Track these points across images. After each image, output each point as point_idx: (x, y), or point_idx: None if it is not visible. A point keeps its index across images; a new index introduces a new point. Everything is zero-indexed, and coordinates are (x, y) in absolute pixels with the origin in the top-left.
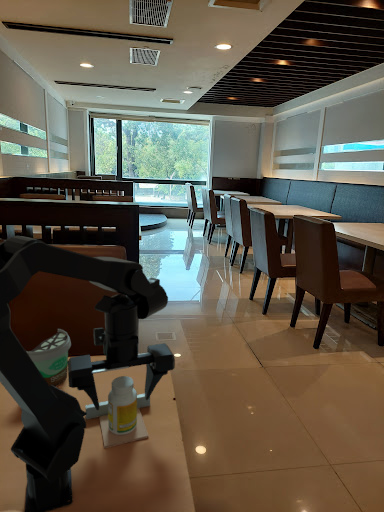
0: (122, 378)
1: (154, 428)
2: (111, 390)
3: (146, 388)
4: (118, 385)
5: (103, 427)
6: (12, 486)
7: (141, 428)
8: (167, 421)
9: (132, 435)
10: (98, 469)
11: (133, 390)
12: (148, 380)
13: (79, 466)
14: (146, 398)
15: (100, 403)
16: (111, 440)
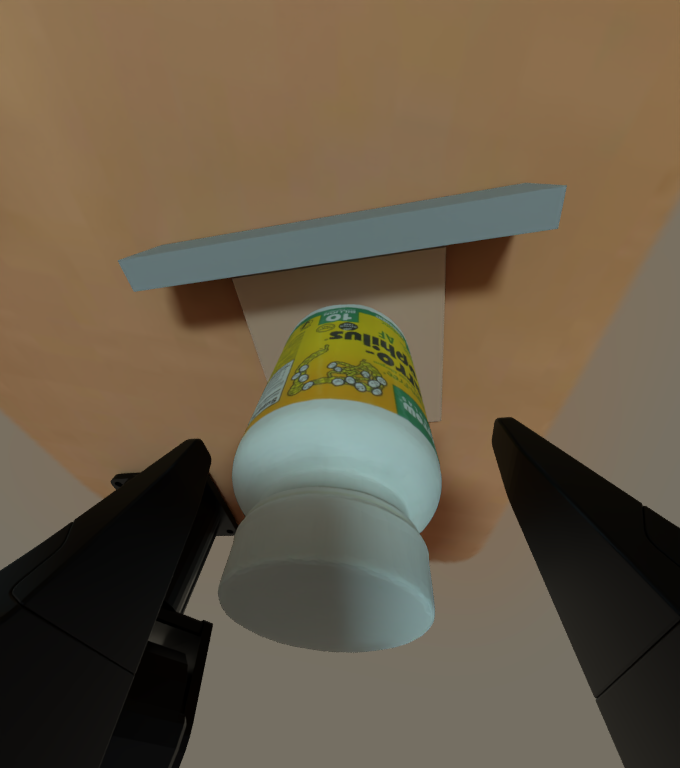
0: (322, 584)
1: (477, 380)
2: (243, 485)
3: (533, 509)
4: (288, 628)
5: (265, 352)
6: (87, 475)
7: (423, 386)
8: (551, 355)
9: None
10: None
11: (419, 520)
12: (594, 623)
13: (226, 462)
14: (497, 460)
15: (206, 257)
16: None
